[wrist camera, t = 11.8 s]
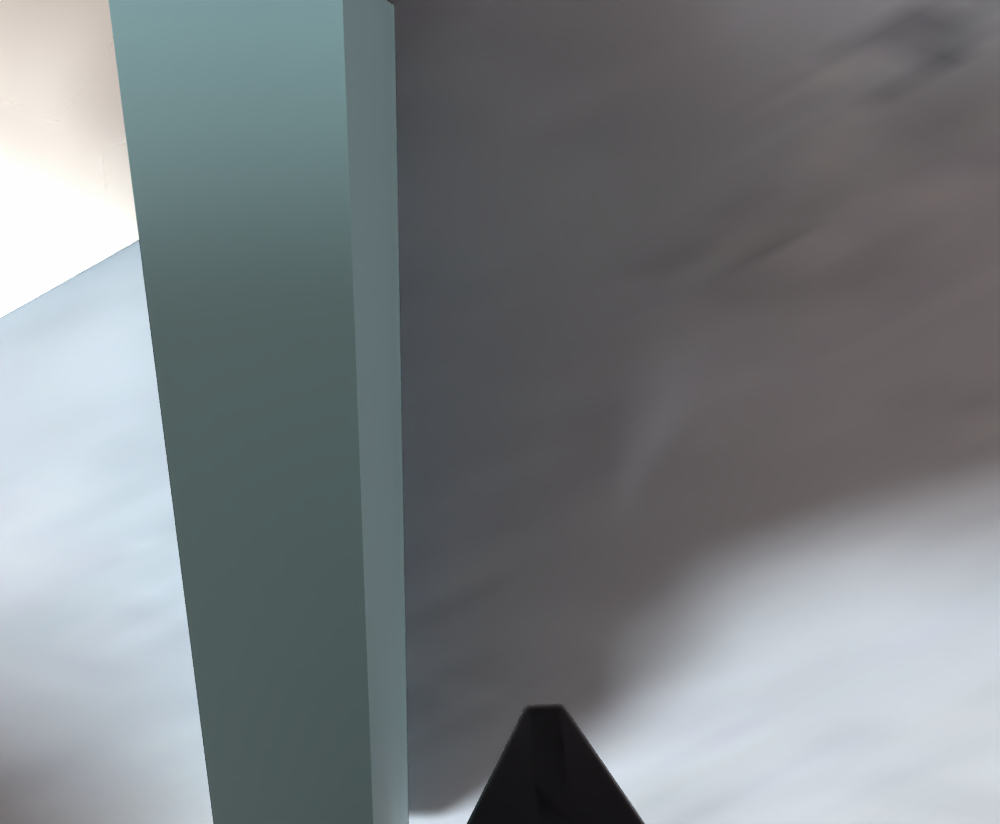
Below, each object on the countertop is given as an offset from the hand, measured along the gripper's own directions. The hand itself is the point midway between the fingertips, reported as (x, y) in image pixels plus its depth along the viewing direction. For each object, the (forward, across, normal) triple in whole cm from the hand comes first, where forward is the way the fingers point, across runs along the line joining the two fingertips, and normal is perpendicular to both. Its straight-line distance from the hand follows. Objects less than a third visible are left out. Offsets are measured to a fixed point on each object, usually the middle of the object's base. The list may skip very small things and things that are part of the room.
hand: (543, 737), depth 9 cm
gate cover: (+2, +2, -2) cm, 3 cm away
